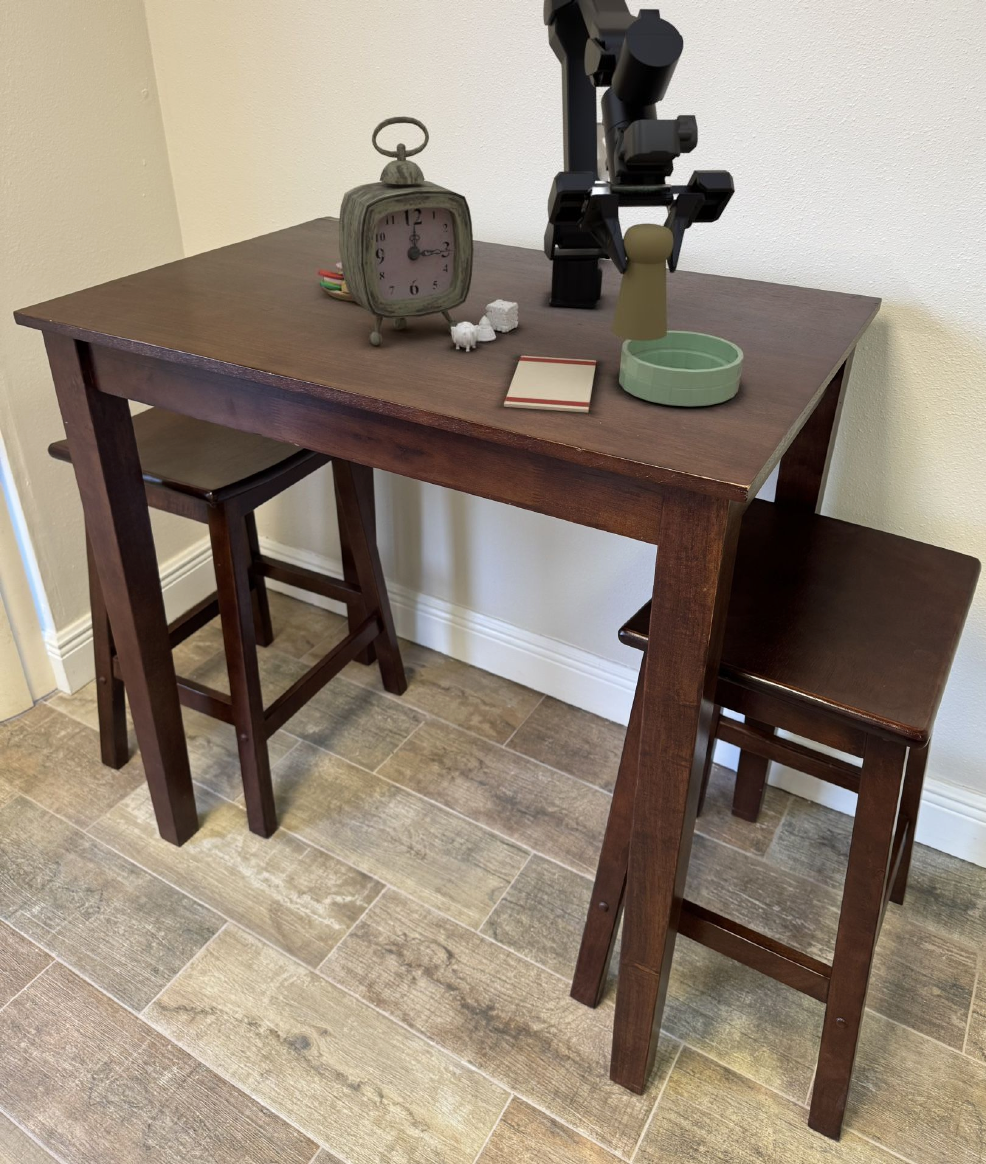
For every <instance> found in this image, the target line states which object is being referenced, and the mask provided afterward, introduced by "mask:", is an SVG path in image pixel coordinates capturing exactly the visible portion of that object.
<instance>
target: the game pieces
mask: <svg viewBox="0 0 986 1164" xmlns="http://www.w3.org/2000/svg"><path fill="white" fill-rule="evenodd" d="M519 307H520V306H519V304H518V303H517V302H516V301H515V302H513V301H507V300H503V299H496V300H495V301H493V302H490V303H487V305H486V307H485V311H486V314H484V315H483V316H482V317H481V318H480V319H479V322H478V324H476V325H474V324H473V323H471V322H470V321H461V322H458V324H457V326H456V327H451V330H452V332H450V334H451V339H452V342H453V343H454V344H455V346H456V347H455V350H460V347H462V348H465V349H466V350H465V352H470V351H471V350H470V347H471V348H472V349H476V348H477V347H476V343H477V342H491V341H495V340H496V338H497V335H496V334H495V331H498V332H501V333H509V331H511V330H512V329H514V328H517V327H518V324H519V321H518V319H519V317H518V315H519V314H518V313H519V310H518V309H519Z"/></svg>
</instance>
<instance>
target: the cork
mask: <svg viewBox="0 0 986 1164" xmlns="http://www.w3.org/2000/svg"><path fill="white" fill-rule="evenodd" d="M623 242H624V247H625V253H626V264H627V270H626V272H625V274H622V278H621V282H620V288H619V292H618V296H617V301H616V305H615V309H614V314H613V318H612V319H613V320H612V324H611V327H610V328H611V329H610V332H611V333H612V334H613V335H614V336H616V337H618V338H621V339H624V340H627V339H629V340H636V341H651V340H658V339H661V338H663V337H665V336H666V335H667V331H668V325H667V324H668V318H667V317H668V314H667V313H668V311H667V307H668V305H667V259H668V257H669V256H670V255H671V252H672V249H673V243H674V240H673V235H672V232H671V231H670V230H669V229H668V228H667V227H665V226H663V225H661V224H657V223H638V224H633V225H632V226H629V227H628V228H627V230H626V231H625V232H624V235H623Z"/></svg>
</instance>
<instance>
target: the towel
mask: <svg viewBox="0 0 986 1164" xmlns="http://www.w3.org/2000/svg"><path fill="white" fill-rule="evenodd" d="M518 360H519V361H518V364H517V366H516V369H515V372H514V375H513V376H512V377H513V378H512V380H511V383H510V386H509V388H508V391H507V394H506V397H505V399H504V403H503V407H504V408H515V409H517V408H518V409H529V410H530V409H532V410H544V411H558V412H573V413H584V414H585V413H587V414H589V410H590V404H591V397H592V392H593V386H594V379H595V373H596V367H597V360H594V359H579V358H564V357H547V356H531V355H520V357H519V359H518Z"/></svg>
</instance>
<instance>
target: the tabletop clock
mask: <svg viewBox="0 0 986 1164" xmlns="http://www.w3.org/2000/svg"><path fill="white" fill-rule="evenodd" d="M396 124H411V125H413V126H417V127H418V128H419V129H420V130H421V131H422V133H423V134H424V140H423V143H422V144H420V145H419V146H418V147H415V148H413V149H408V150H407V149H406V148H407V146H406V145H405V144H404V143H401V142H400V143H398V144H397V145H396V150H388V149H383V148H382V147H380V146H379V145H378V143H377V136H378V135H379V133H380V132H381V131H382V130H383V129H384V128H386V127H388V126H391V125H396ZM429 140H430V134H429V131H428V128H427V127H426V125H425V124H424V123H423V122H422V121H421V120H418V119H417V118H414V117H410V116H393V117H389V118H386V119H383V121H381V122H379V123H378V125H377V126H376V127H375V128H374V130H373V133H372V136H371V143H372V146H373V148H374V149H375V150H376V151H377V152H378V153H379V154H381V155H382V156H385V157H388V158H393V160H391V161H390V162H388V163H387V164H386V165H385V166H384V168H383V169H382V171H381V173H380V177H379V181H377V182H372V183H371V182H370V183H366V184H360V185H358V186H355V187H353V188H351V189H350V190H348V191H346V192H344V195H343V196H342V197H343V198H342V201H341V203H340V208H339V209H340V211H339V219H338V220H339V221H338V227H339V228H338V238H339V239H338V240H339V241H338V243H339V244H338V245H339V246H338V248H339V257H340V262H341V263H342V270H343V271H342V270H341V271H342V272H343V276H344V280H345V284H346V287H347V290H348V292H349V294H350V296H351V298H352V299H353V300H355V301H356V304H358V305H360V306H361V307H362V308H364V309H365V310H366V311H368V312H369V313H370V314H372V315H373V316H375V321H374V324H375V325H374V331H372V332H370V334H368V342H369V344H371V346H379V345H380V344H381V343H382V340H383V338H382V335H381V333H380V329H381V326H382V323H383V319H394V321H393V325H394V327H395V328H396V329H397V330H404V329H405V328H406V327H407V325H408V324H407V323H408V322H407V319H408V318H421V317H426V316H431V315H434V314H439V313H441V314H442V316H443V317H444V318H445V320H446V321H447V326H446V327H447V331H448V332H449V333H451V332H452V330H451V327H456V326H457V324H458V323H459V321H458V320H455V319H454V320H453V319H452V317H451V315H450V313H449V311H451V310H454V309H456V308H458V307H459V306H461V305H462V304H464V303H466V301H467V298H468V296H469V292H470V288H471V283H472V278H473V277H472V275H473V263H474V251H475V249H474V237H473V236H474V235H473V221H472V215H471V210H470V207H469V204H468V201H467V199H466V196H464V195H462V194H460V193H458V192H456V191H453V190H451V189H448V188H446V187H444V186H441V185H439V184H436V183H434V182H431V181H429V180H425V175H424V172H423V171H422V169H421V167H420V166H419V165H418V164H417V163H416V162H414V161H412V160H409V159H407V158H410V157H413V156H416V155H417V154H420V153H422V152H423V151H424V150H425V148H426V147H427V146H428V144H429ZM355 301H354V302H355Z"/></svg>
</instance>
